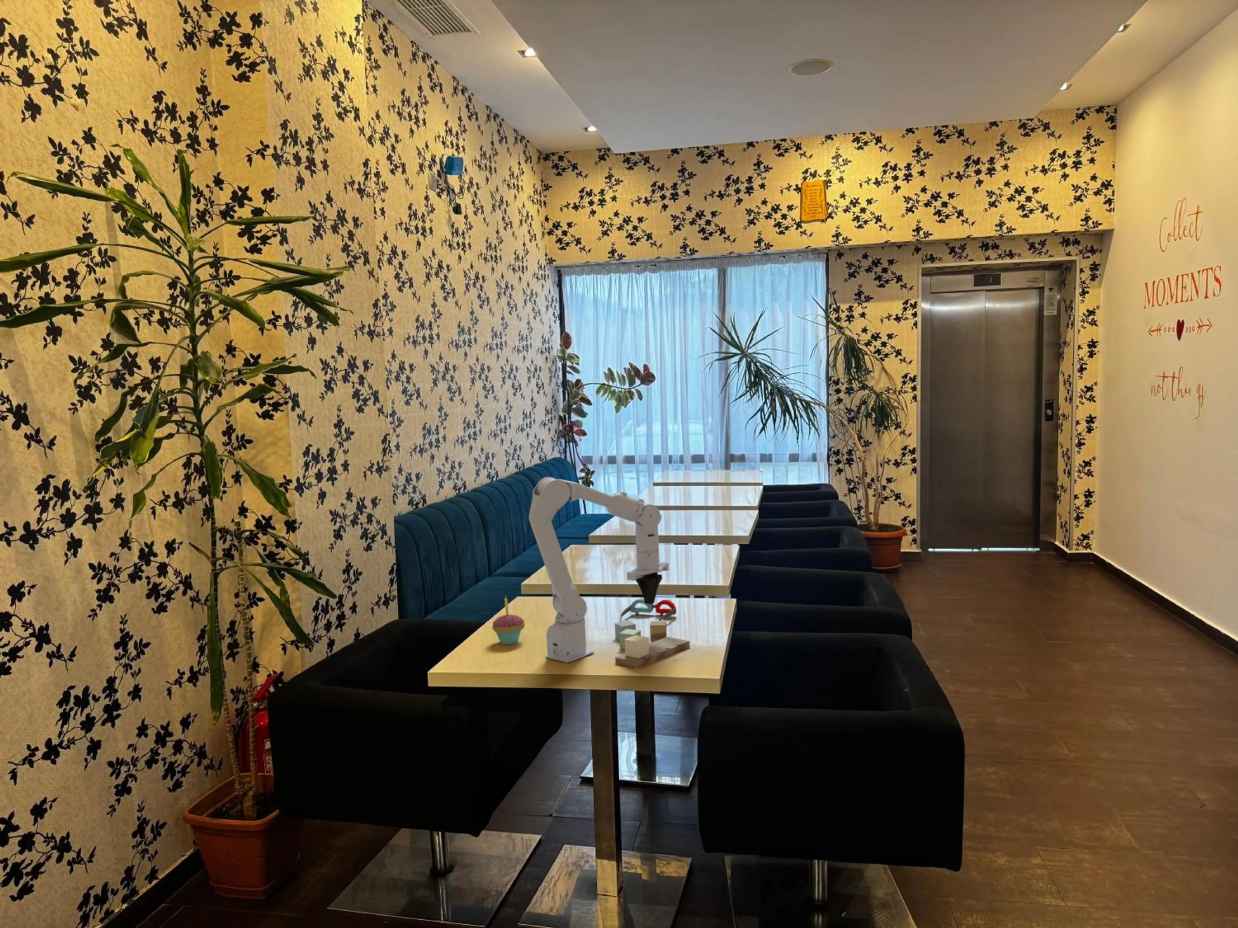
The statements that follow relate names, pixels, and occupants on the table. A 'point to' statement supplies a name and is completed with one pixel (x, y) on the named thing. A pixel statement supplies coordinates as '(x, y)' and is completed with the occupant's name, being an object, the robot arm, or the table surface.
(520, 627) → the cupcake
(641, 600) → the novelty glasses
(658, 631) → the oak block
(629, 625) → the slate blue block
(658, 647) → the board
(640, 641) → the slider
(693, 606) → the table surface
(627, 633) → the sage block
